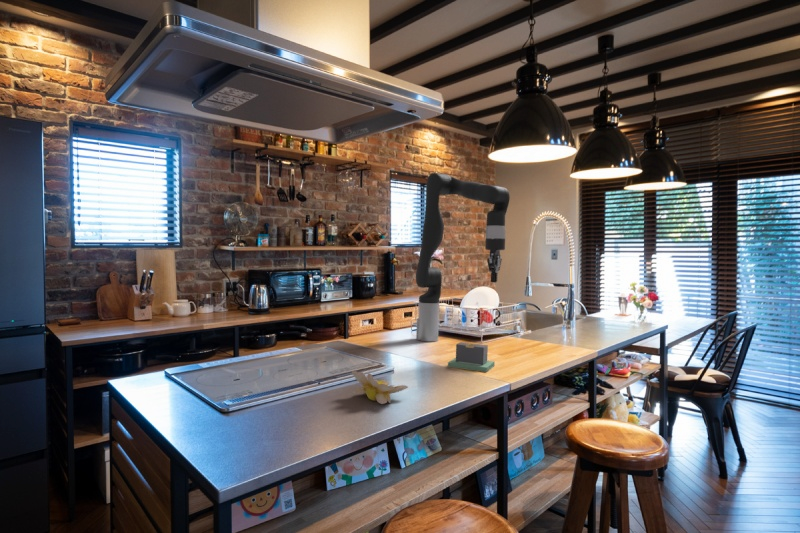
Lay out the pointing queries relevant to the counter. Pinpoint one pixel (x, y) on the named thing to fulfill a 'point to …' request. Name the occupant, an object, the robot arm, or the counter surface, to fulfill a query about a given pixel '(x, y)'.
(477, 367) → the pin board
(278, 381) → the counter surface
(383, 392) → the decorative flower
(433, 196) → the robot arm
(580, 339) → the counter surface
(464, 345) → the plug housing
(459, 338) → the counter surface
